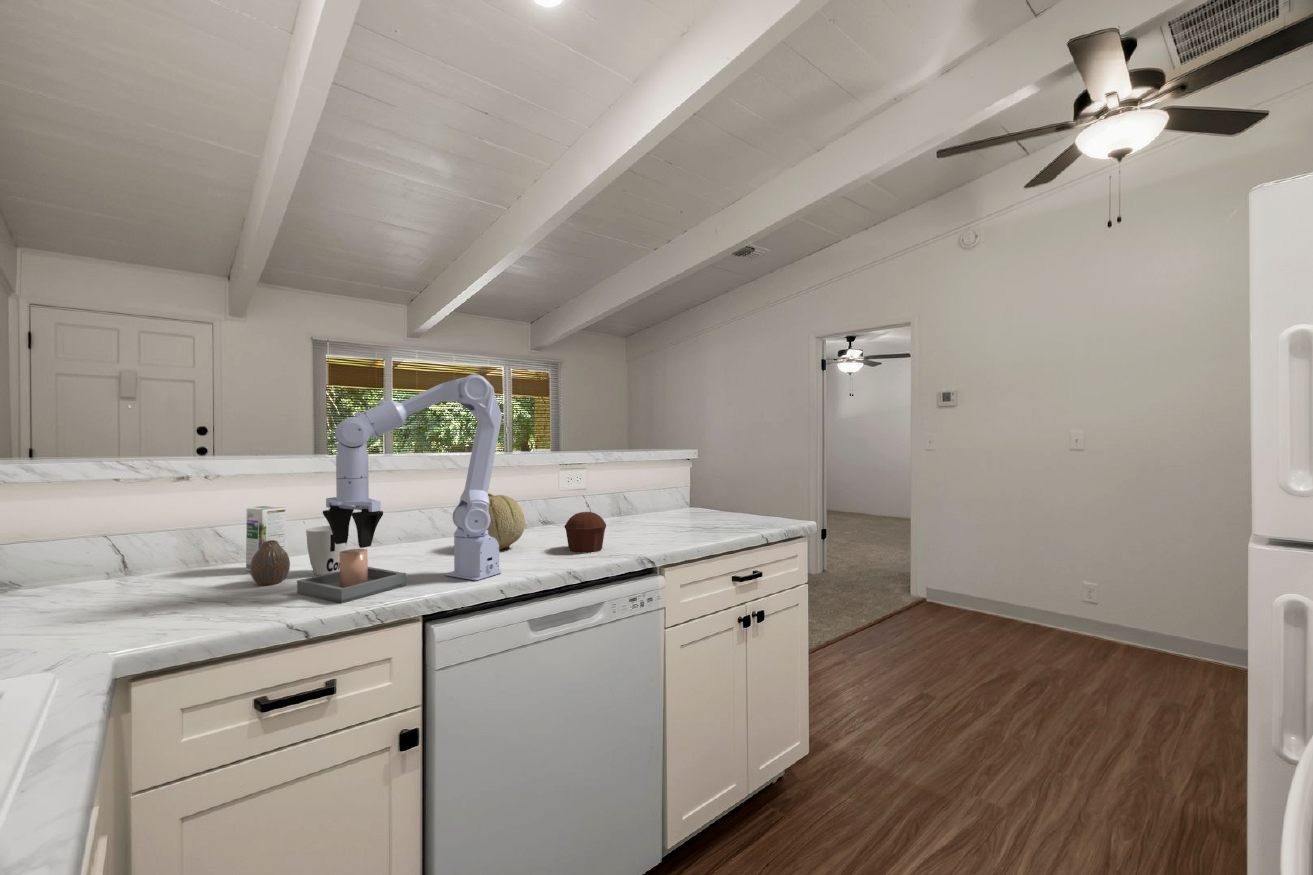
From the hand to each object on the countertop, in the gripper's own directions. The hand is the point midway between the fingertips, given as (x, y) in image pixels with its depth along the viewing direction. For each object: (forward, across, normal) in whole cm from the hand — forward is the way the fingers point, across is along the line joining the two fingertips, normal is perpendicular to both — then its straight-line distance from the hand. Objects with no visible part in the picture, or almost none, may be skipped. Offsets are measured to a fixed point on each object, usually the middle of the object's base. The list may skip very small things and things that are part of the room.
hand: (353, 545), depth 115 cm
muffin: (+9, +19, +54) cm, 58 cm away
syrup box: (+9, -33, +1) cm, 34 cm away
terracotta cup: (+8, 0, 0) cm, 8 cm away
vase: (+9, -20, -5) cm, 23 cm away
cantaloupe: (+9, -3, +44) cm, 45 cm away
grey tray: (+9, 0, 0) cm, 9 cm away
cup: (+9, -18, +6) cm, 21 cm away
